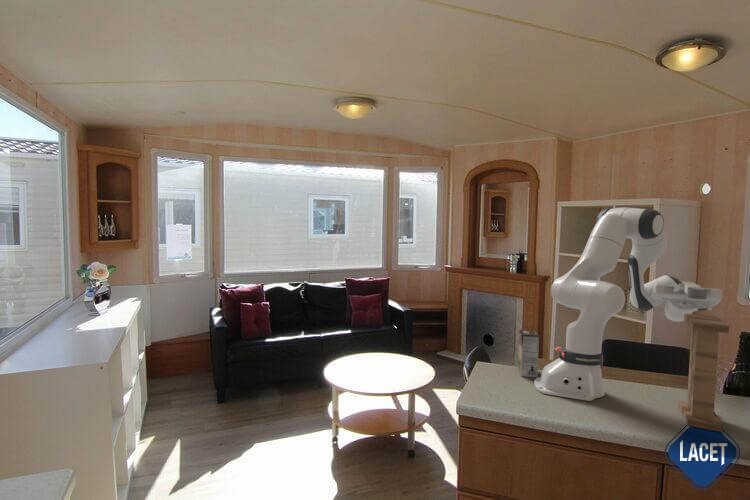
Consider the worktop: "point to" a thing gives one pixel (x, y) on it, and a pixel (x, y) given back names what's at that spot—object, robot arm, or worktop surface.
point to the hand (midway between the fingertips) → (689, 285)
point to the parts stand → (702, 372)
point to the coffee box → (528, 353)
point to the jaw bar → (694, 290)
